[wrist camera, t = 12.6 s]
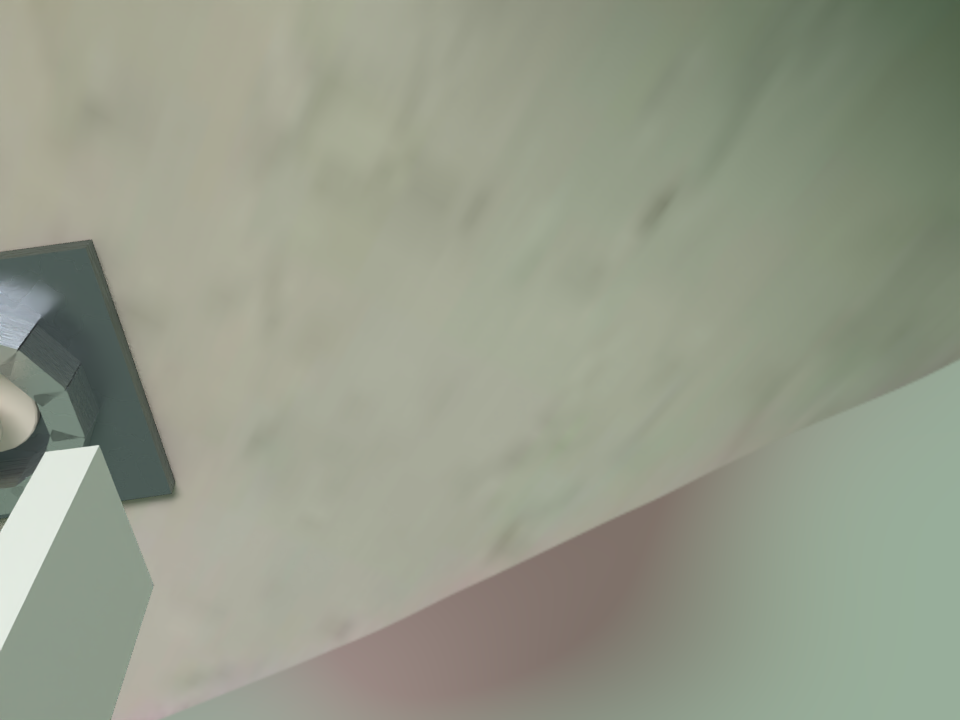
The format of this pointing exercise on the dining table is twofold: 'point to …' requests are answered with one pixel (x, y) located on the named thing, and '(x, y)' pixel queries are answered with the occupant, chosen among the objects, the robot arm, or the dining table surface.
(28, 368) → the ring stand
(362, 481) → the dining table surface
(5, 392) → the candle
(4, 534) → the robot arm
